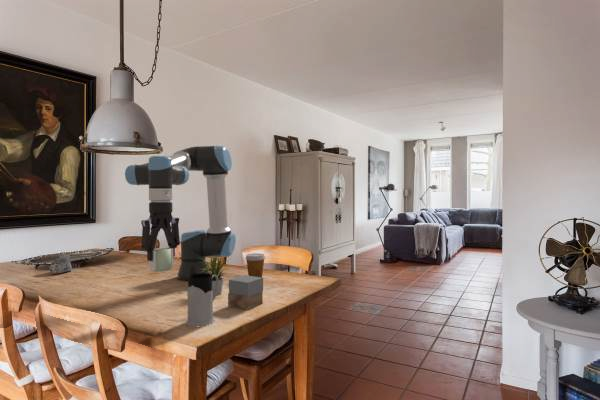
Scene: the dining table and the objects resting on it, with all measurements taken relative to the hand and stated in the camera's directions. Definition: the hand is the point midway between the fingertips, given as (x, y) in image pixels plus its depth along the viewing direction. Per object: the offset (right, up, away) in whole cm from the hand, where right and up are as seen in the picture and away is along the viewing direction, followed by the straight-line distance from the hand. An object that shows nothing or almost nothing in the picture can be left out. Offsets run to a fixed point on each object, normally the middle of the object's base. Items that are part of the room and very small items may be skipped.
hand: (161, 268), depth 124 cm
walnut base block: (+27, -16, +10) cm, 33 cm away
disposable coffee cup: (+26, -15, +51) cm, 59 cm away
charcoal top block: (+28, -11, +10) cm, 31 cm away
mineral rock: (-79, -15, +66) cm, 104 cm away
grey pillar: (+17, -16, -6) cm, 24 cm away
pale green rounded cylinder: (0, -1, 0) cm, 1 cm away
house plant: (+11, -16, +26) cm, 32 cm away
